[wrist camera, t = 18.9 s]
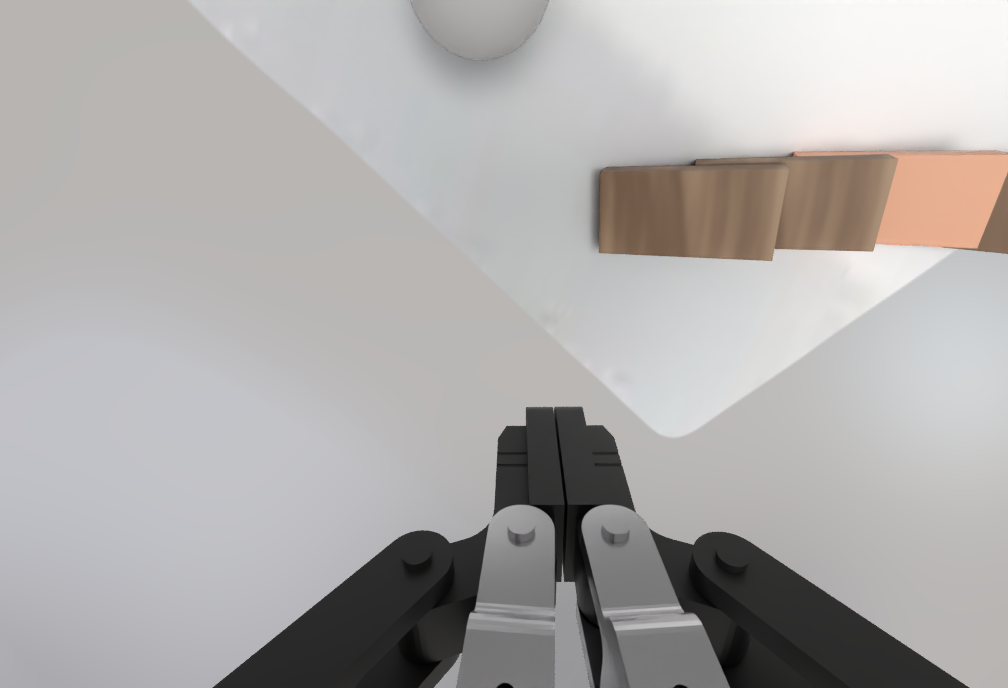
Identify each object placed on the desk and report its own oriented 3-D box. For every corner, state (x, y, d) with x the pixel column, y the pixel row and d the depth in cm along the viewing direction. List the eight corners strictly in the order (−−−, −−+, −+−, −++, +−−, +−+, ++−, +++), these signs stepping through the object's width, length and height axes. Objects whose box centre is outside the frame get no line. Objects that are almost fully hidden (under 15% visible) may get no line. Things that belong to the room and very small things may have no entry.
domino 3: (780, 239, 31) (976, 248, 28) (797, 156, 29) (1014, 154, 26) (776, 231, 33) (962, 239, 30) (793, 152, 31) (996, 150, 27)
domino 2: (687, 246, 32) (873, 251, 28) (695, 164, 29) (898, 158, 26) (688, 237, 33) (864, 241, 30) (696, 159, 31) (887, 153, 27)
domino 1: (598, 253, 32) (772, 260, 28) (600, 172, 30) (789, 169, 26) (605, 244, 33) (769, 250, 30) (607, 167, 31) (785, 164, 28)
